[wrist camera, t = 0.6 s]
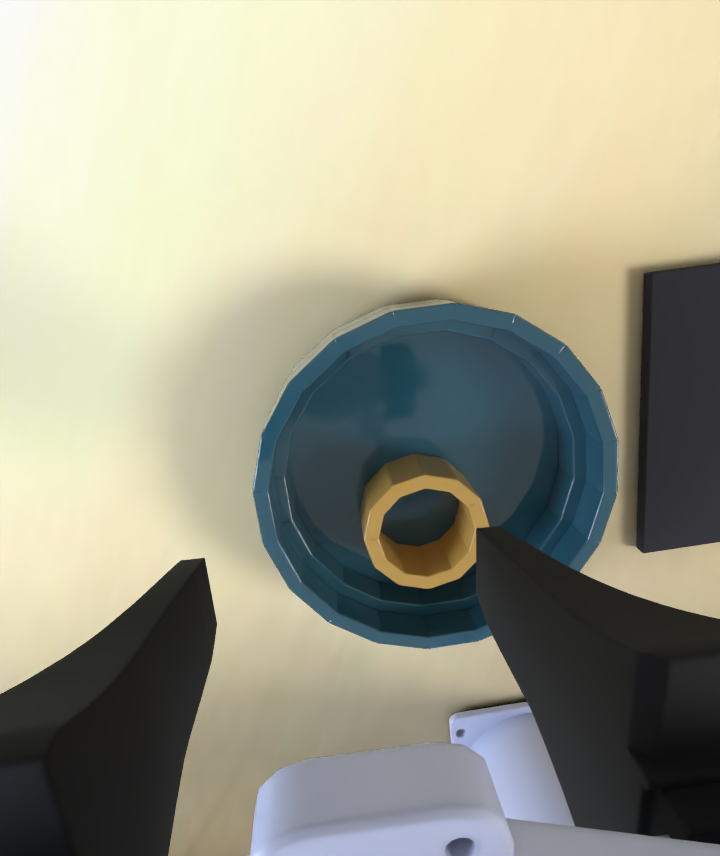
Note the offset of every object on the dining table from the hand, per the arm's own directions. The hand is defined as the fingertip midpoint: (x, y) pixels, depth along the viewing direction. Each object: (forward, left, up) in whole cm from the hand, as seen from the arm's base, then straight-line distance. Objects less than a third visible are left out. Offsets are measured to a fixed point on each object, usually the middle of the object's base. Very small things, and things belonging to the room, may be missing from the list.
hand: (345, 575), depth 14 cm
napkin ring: (-3, -3, -9) cm, 10 cm away
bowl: (-1, -4, -10) cm, 11 cm away
